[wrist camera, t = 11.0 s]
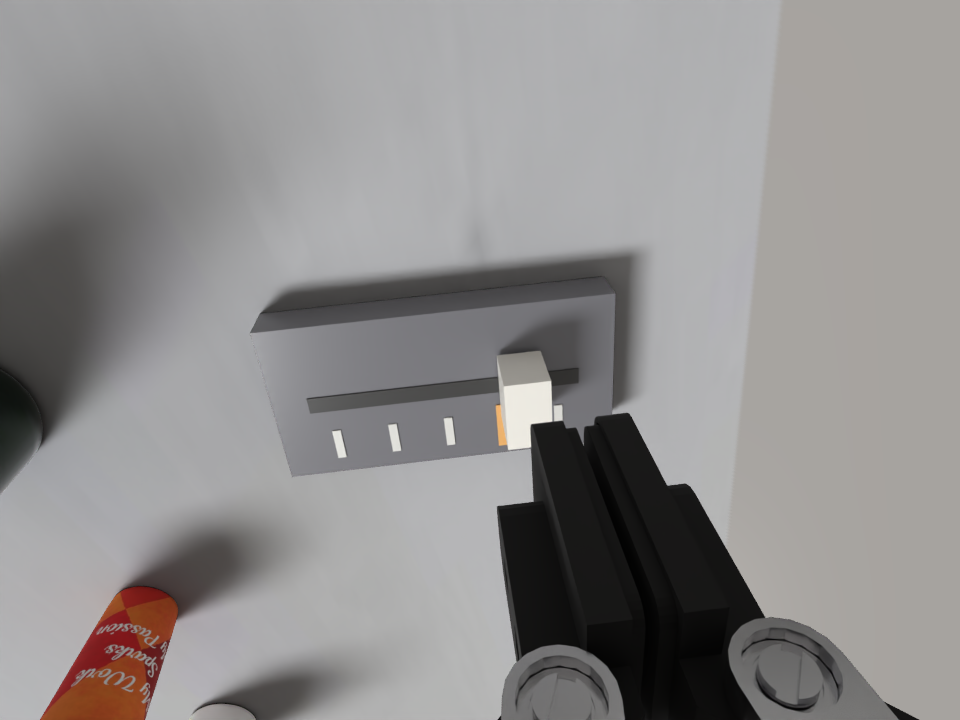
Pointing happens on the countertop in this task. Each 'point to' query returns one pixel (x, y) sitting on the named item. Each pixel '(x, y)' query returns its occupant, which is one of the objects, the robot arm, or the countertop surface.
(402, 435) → the fader console
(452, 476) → the countertop surface
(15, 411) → the green wine bottle
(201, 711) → the bath foam
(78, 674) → the paper cup
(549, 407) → the fader knob
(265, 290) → the countertop surface
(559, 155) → the countertop surface
